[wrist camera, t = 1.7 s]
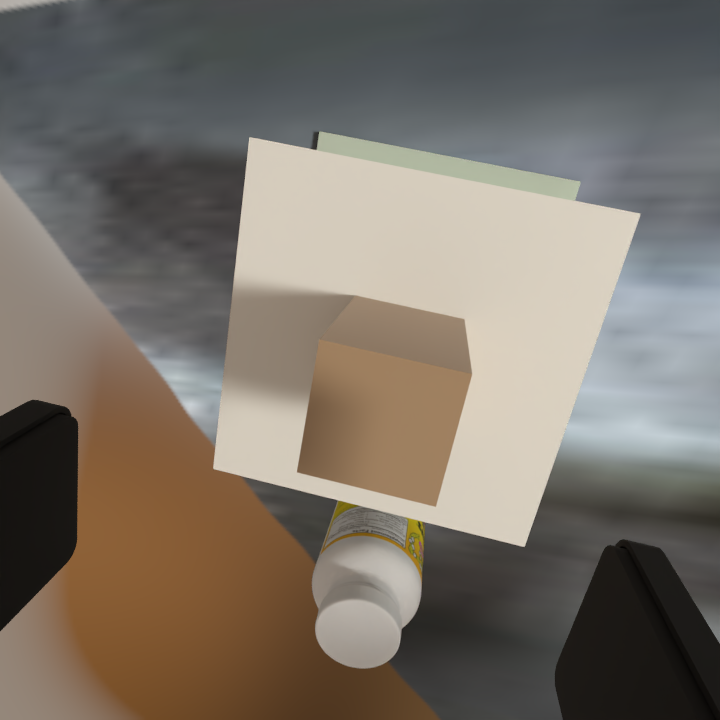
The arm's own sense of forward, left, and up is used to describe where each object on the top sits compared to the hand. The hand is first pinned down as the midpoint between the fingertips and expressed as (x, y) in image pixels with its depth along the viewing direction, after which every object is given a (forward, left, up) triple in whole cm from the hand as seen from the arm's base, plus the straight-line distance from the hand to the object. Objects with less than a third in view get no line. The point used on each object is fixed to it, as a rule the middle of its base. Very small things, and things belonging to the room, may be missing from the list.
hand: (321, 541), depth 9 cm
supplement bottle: (-1, +17, -28) cm, 33 cm away
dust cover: (0, 0, -27) cm, 27 cm away
